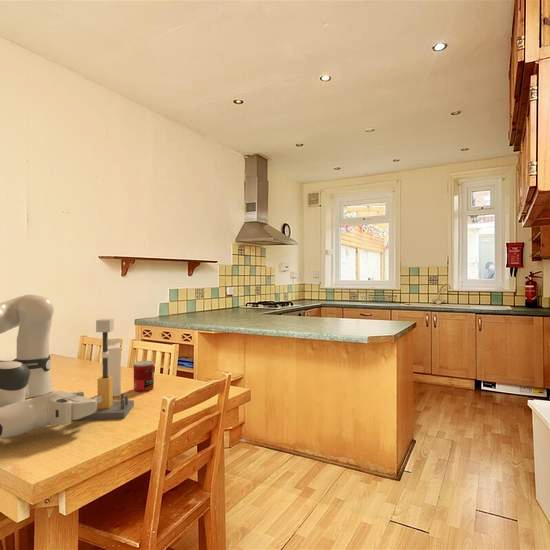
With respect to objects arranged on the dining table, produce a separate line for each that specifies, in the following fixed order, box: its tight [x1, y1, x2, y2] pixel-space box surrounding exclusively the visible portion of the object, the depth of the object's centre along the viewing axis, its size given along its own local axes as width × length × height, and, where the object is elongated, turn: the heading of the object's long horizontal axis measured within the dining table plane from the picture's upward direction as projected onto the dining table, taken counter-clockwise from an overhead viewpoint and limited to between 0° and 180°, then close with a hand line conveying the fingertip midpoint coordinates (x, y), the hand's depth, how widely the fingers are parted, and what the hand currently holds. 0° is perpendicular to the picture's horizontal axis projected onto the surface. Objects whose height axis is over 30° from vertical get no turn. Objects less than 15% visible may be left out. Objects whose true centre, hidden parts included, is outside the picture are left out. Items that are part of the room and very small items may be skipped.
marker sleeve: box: [96, 375, 114, 409], centre depth 133 cm, size 4×4×10 cm
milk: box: [101, 337, 122, 397], centre depth 152 cm, size 6×6×22 cm
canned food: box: [133, 360, 155, 393], centre depth 160 cm, size 8×8×11 cm
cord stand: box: [76, 318, 135, 421], centre depth 133 cm, size 16×12×32 cm
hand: (91, 396), depth 128 cm, fingers open, 8 cm apart
